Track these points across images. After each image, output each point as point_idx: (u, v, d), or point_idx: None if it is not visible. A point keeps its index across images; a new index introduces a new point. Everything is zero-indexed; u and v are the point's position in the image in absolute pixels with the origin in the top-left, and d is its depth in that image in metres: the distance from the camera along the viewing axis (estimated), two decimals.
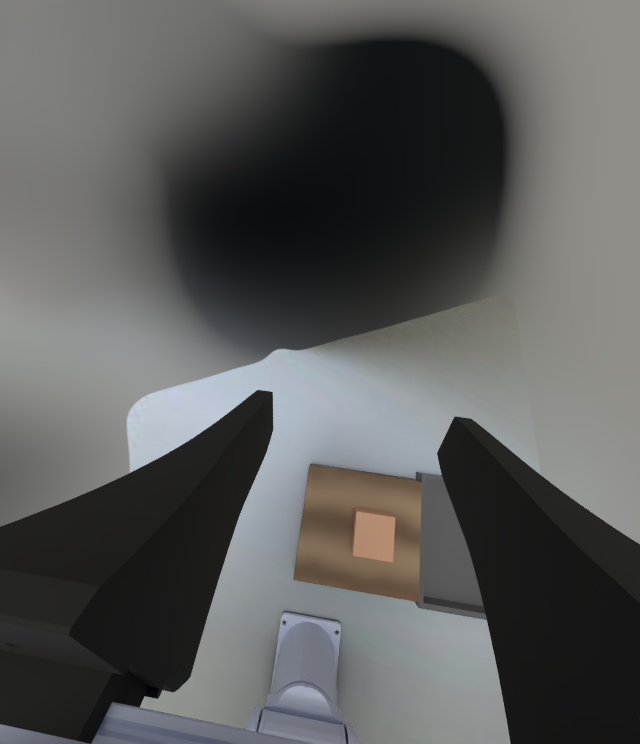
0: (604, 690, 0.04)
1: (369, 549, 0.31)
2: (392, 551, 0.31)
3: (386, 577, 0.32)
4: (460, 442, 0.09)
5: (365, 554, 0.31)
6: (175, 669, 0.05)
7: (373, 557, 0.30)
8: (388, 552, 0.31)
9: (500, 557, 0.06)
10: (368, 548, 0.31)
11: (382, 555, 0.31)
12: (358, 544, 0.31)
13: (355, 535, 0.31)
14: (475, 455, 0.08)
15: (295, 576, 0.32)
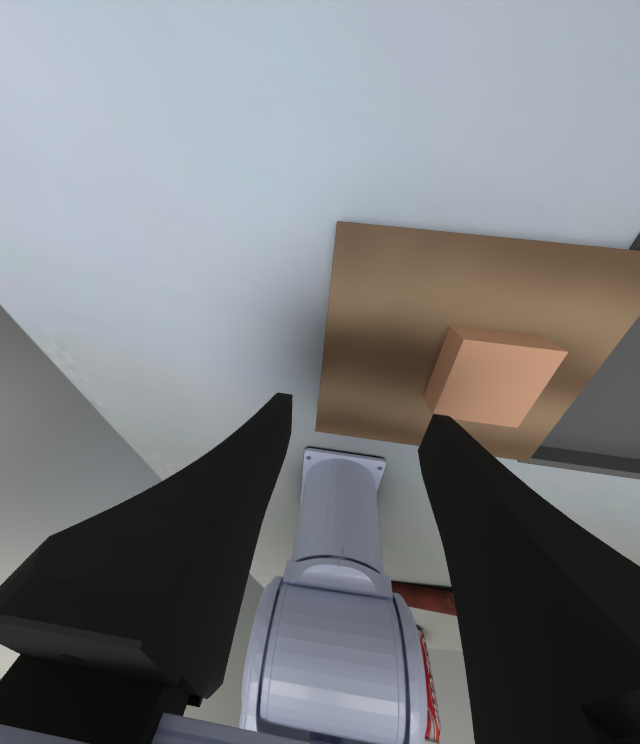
0: (553, 681, 0.04)
1: (472, 407, 0.14)
2: (525, 412, 0.14)
3: (480, 434, 0.18)
4: (437, 439, 0.09)
5: (460, 415, 0.14)
6: (210, 677, 0.05)
7: (477, 419, 0.15)
8: (515, 413, 0.14)
9: (469, 552, 0.06)
10: (470, 406, 0.14)
11: (498, 417, 0.14)
12: (449, 400, 0.14)
13: (447, 385, 0.14)
14: (450, 451, 0.08)
15: (318, 427, 0.19)
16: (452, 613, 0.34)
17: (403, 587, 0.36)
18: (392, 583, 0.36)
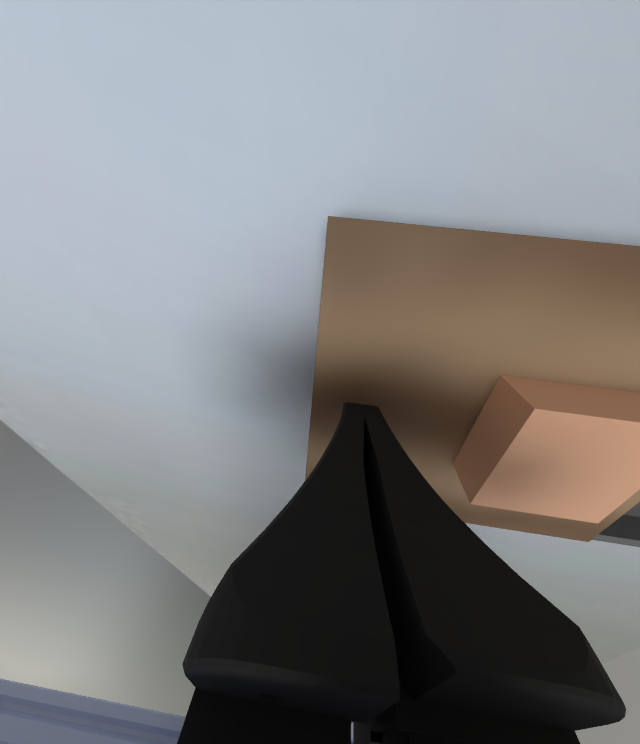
0: None
1: (532, 497, 0.09)
2: (614, 506, 0.09)
3: None
4: None
5: (513, 504, 0.10)
6: None
7: (537, 511, 0.10)
8: (598, 506, 0.09)
9: None
10: (531, 495, 0.09)
11: (571, 510, 0.10)
12: (499, 486, 0.09)
13: (498, 468, 0.09)
14: (365, 439, 0.08)
15: None
16: None
17: None
18: None
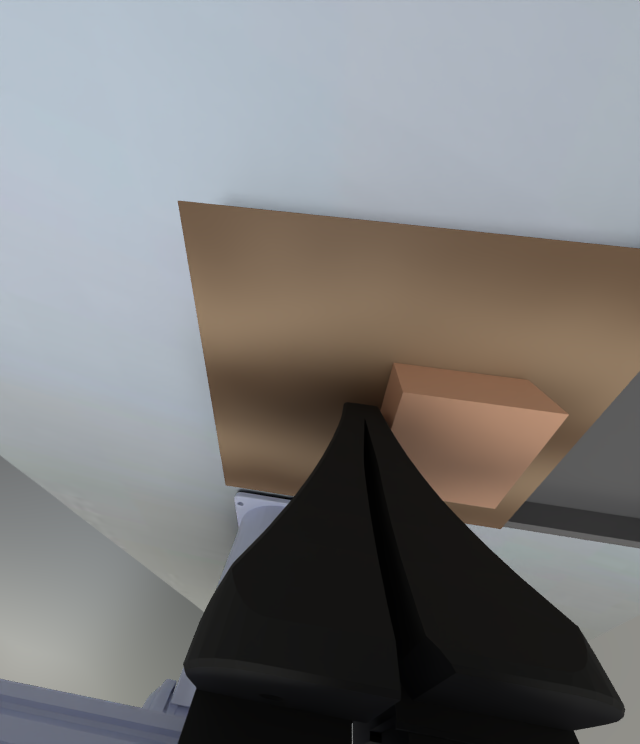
0: None
1: None
2: (505, 491, 0.09)
3: None
4: None
5: None
6: None
7: None
8: (489, 491, 0.10)
9: None
10: None
11: (466, 495, 0.10)
12: None
13: None
14: (365, 439, 0.08)
15: (228, 481, 0.14)
16: None
17: None
18: None
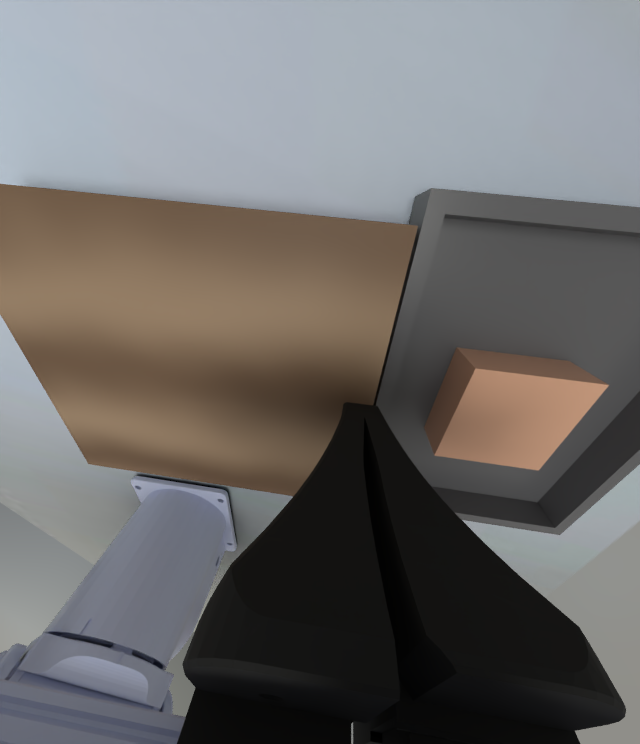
0: None
1: None
2: None
3: (277, 471, 0.13)
4: None
5: None
6: None
7: None
8: None
9: None
10: None
11: None
12: None
13: None
14: (365, 439, 0.08)
15: (89, 460, 0.15)
16: None
17: None
18: None
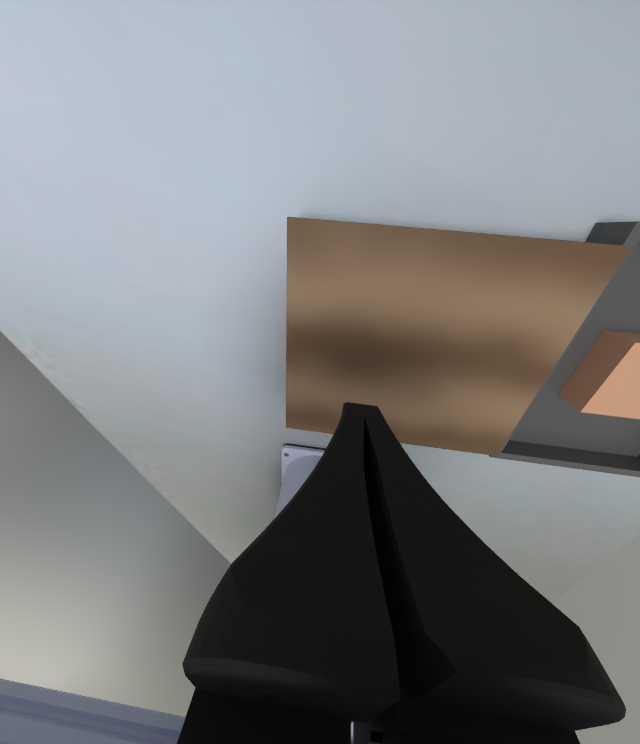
0: None
1: None
2: (569, 381, 0.17)
3: (448, 428, 0.18)
4: None
5: None
6: None
7: None
8: None
9: None
10: None
11: None
12: None
13: None
14: (365, 439, 0.08)
15: (288, 424, 0.19)
16: None
17: None
18: None
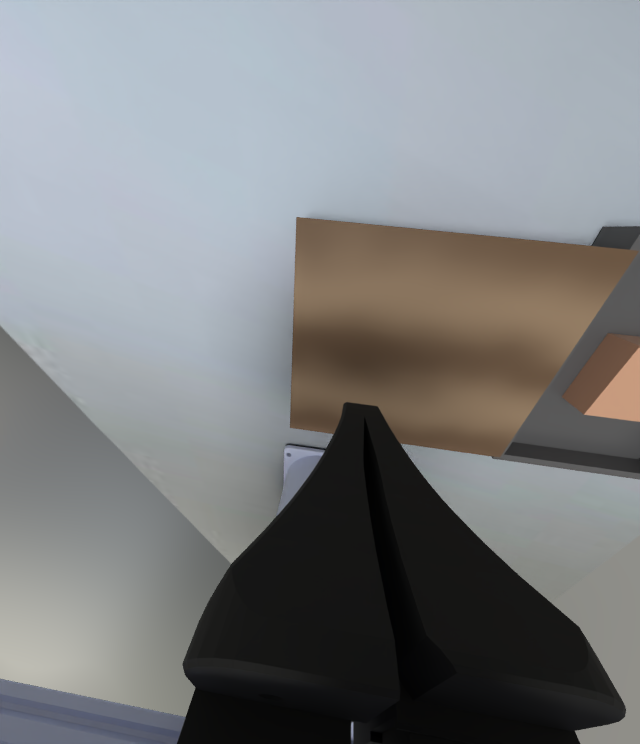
0: None
1: None
2: None
3: (452, 430, 0.18)
4: None
5: None
6: None
7: None
8: None
9: None
10: None
11: None
12: None
13: None
14: (365, 439, 0.08)
15: (292, 424, 0.19)
16: None
17: None
18: None
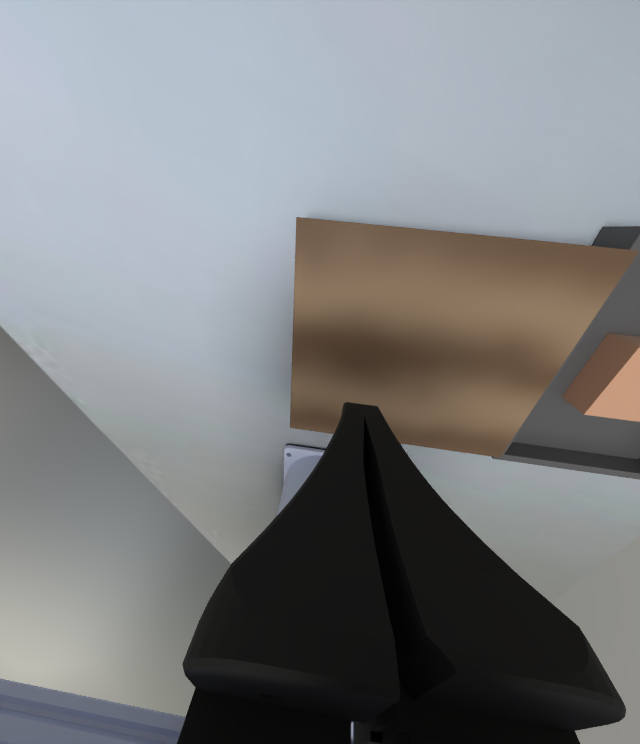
0: None
1: None
2: None
3: (452, 430, 0.18)
4: None
5: None
6: None
7: None
8: None
9: None
10: None
11: None
12: None
13: None
14: (365, 439, 0.08)
15: (292, 424, 0.19)
16: None
17: None
18: None
